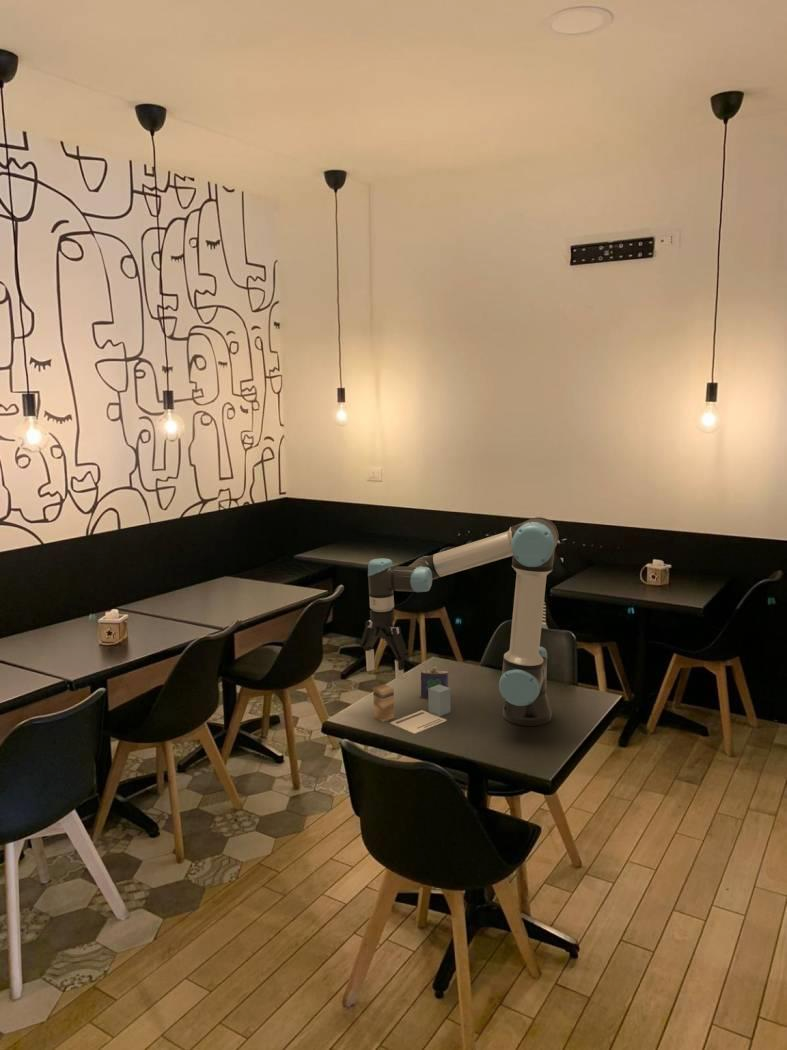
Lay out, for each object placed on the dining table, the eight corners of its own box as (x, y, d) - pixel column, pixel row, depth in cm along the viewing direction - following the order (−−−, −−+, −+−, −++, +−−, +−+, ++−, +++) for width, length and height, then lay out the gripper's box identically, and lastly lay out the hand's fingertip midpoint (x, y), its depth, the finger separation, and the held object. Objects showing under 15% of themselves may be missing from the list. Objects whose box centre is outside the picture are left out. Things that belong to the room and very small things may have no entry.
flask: (448, 695, 268) (448, 665, 266) (448, 698, 265) (448, 668, 263) (421, 695, 268) (420, 665, 267) (420, 698, 265) (420, 668, 264)
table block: (394, 718, 250) (393, 688, 248) (383, 722, 247) (382, 691, 245) (384, 714, 253) (383, 684, 251) (373, 718, 250) (373, 687, 248)
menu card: (446, 720, 247) (446, 719, 247) (414, 734, 238) (414, 733, 238) (421, 711, 255) (421, 710, 255) (390, 723, 246) (390, 722, 246)
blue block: (450, 712, 254) (450, 688, 253) (439, 716, 251) (439, 692, 249) (439, 707, 258) (439, 684, 256) (428, 712, 254) (428, 688, 253)
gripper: (347, 604, 251) (350, 668, 254) (400, 618, 233) (403, 687, 236) (364, 600, 256) (367, 663, 259) (418, 612, 238) (421, 680, 241)
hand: (384, 674), depth 247 cm, fingers open, 13 cm apart
